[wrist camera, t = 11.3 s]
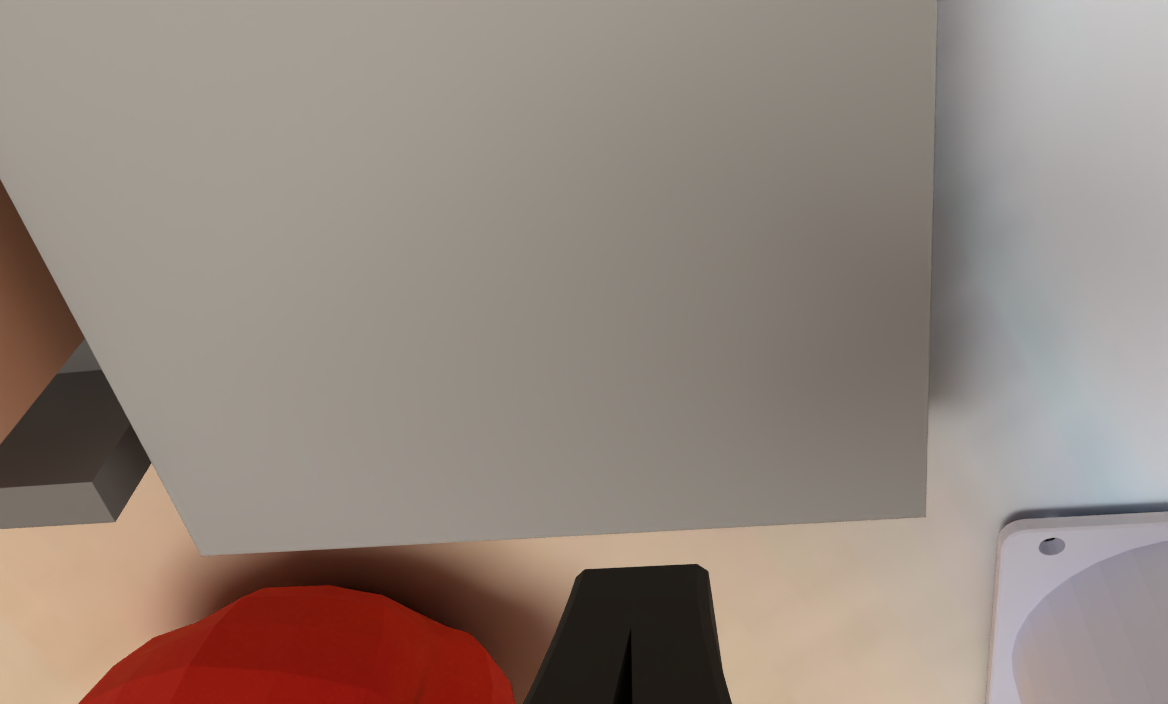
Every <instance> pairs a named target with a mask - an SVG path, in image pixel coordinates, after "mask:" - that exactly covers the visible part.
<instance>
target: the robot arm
mask: <svg viewBox="0 0 1168 704" xmlns="http://www.w3.org/2000/svg"><path fill="white" fill-rule="evenodd" d="M1049 538H1055V539H1054V540H1051V541H1047V542H1044V540H1046V539H1049ZM523 704H732V702H731V699H730V695H729V692H728V688H727V685H726V681H725V678H724V674H723V669H722V662H721V656H720V649H719V642H718V635H717V628H716V621H715V614H714V607H713V600H712V593H711V587H710V580H709V573H708V571H707V570H705V569H704V568H702V567H701V566H699V565H698V564H687V565H666V566H645V567H624V568H604V569H585V570H583V571H582V572H581V573H580V574H579V575H578V576H577V577H576V579H575V582H574V585H573V588H572V591H571V594H570V596H569V599H568V602H567V605H566V607H565V610H564V612H563V615H562V618H561V620H560V623H559V625H558V628H557V630H556V632H555V635H554V637H553V640H552V642H551V644H550V647H549V649H548V651H547V653H546V656H545V658H544V660H543V662H542V665H541V667H540V669H539V671H538V674H537V676H536V678H535V680H534V682H533V685H532V687H531V689H530V691H529V693H528V695H527V697H526V699H525V701H524V703H523ZM985 704H1168V511H1167V512H1148V513H1129V514H1110V515H1091V516H1072V517H1053V518H1034V519H1021V520H1016V521H1013V522H1011V523H1009V524H1007V525H1006V526H1005V527H1004V528H1003V529H1002V530H1001V531H1000V534H999V537H998V548H997V561H996V574H995V586H994V599H993V612H992V624H991V637H990V650H989V663H988V675H987V688H986V701H985Z"/></svg>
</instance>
